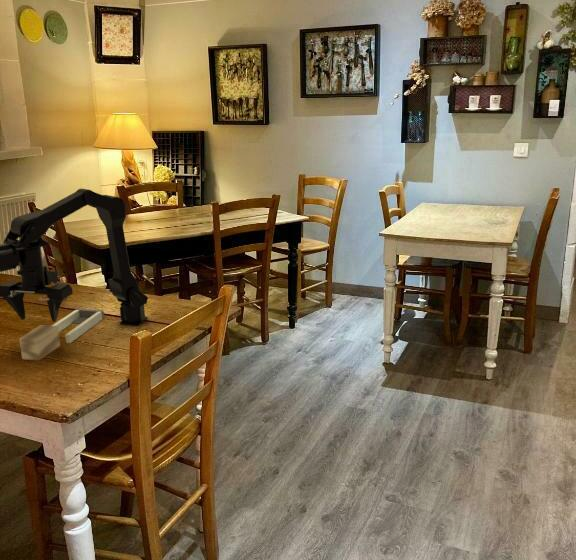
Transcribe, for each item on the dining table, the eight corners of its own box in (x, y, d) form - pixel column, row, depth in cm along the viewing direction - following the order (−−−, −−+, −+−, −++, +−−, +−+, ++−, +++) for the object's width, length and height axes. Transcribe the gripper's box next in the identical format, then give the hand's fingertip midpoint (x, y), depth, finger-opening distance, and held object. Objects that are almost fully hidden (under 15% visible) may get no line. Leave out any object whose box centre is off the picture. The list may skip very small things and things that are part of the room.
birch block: (60, 345, 164) (57, 326, 163) (39, 361, 155) (36, 340, 153) (44, 344, 165) (41, 324, 163) (22, 359, 156) (19, 338, 154)
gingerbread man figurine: (67, 297, 204) (63, 264, 200) (66, 300, 200) (62, 267, 197) (40, 299, 202) (35, 265, 198) (38, 302, 198) (33, 268, 195)
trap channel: (104, 317, 185) (103, 310, 184) (70, 343, 166) (69, 335, 165) (78, 316, 186) (77, 308, 185) (41, 340, 167) (40, 332, 166)
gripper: (79, 258, 159) (86, 312, 164) (17, 255, 162) (25, 308, 167) (57, 269, 149) (64, 327, 153) (-9, 266, 152) (0, 322, 156)
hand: (39, 320), depth 158 cm, fingers open, 9 cm apart
